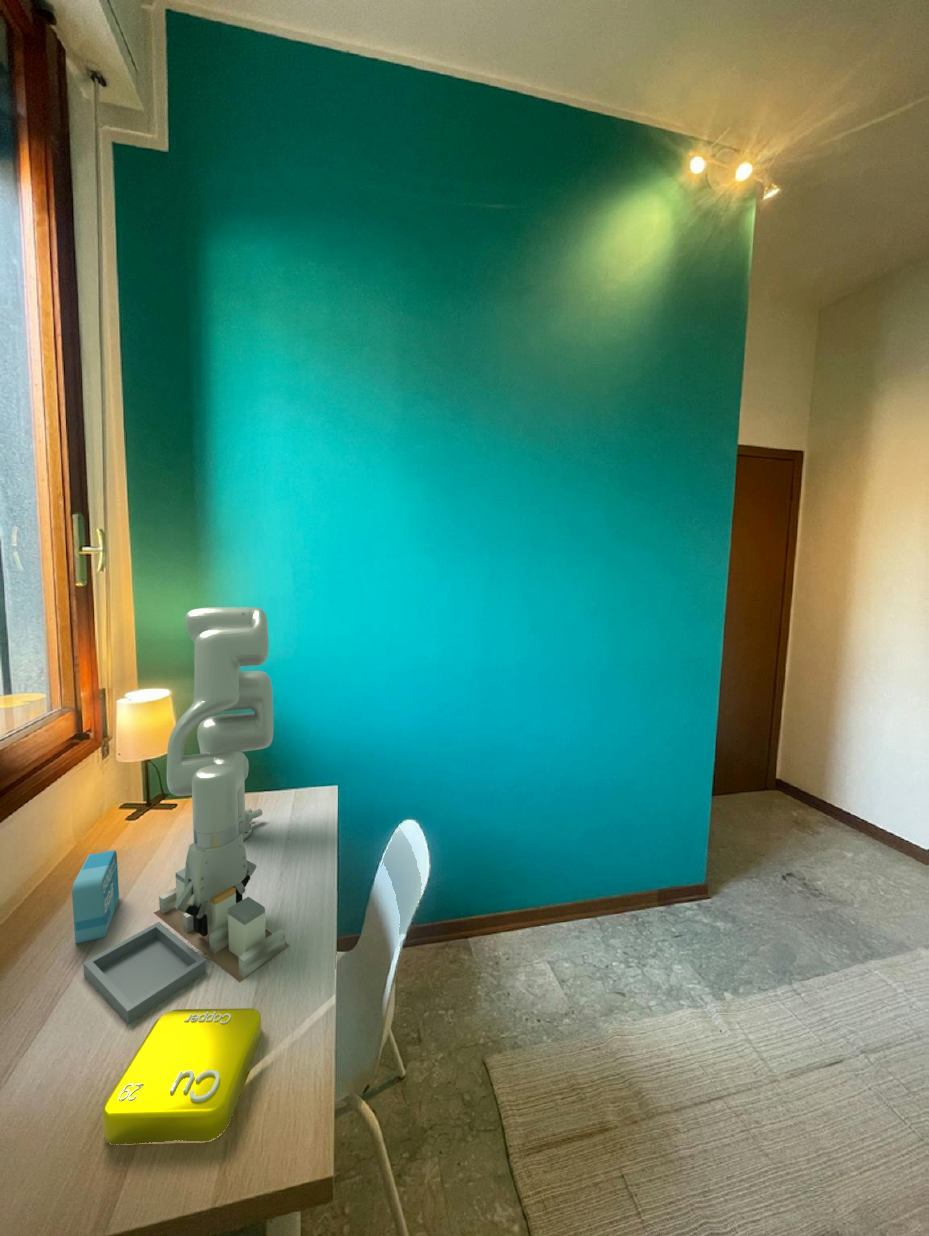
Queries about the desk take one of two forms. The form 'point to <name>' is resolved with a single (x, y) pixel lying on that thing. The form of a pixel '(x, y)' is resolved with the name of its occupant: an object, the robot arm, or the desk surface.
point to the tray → (144, 971)
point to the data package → (95, 896)
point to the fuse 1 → (181, 886)
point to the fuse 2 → (245, 925)
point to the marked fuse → (219, 909)
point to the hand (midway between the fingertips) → (219, 921)
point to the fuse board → (221, 941)
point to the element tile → (184, 1077)
